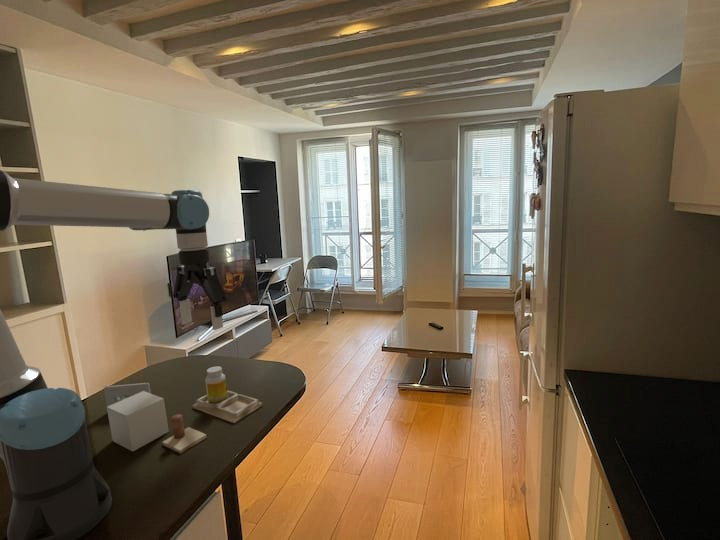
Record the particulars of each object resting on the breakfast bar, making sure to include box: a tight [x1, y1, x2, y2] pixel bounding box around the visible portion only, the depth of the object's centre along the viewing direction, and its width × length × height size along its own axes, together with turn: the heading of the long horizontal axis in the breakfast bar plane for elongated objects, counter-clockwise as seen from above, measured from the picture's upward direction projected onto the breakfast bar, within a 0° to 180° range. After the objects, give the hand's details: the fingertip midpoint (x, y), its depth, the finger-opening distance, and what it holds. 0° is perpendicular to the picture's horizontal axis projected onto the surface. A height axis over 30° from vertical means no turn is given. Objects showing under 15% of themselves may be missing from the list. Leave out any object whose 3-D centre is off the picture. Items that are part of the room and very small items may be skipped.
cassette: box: [103, 382, 152, 408], centre depth 111 cm, size 12×2×8 cm, turn 95°
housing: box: [106, 391, 170, 452], centre depth 98 cm, size 9×9×9 cm
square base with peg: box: [161, 413, 208, 454], centre depth 95 cm, size 7×7×6 cm
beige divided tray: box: [192, 389, 264, 424], centre depth 110 cm, size 10×17×2 cm, turn 58°
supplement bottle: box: [204, 365, 228, 405], centre depth 112 cm, size 5×5×10 cm
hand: (202, 325), depth 110 cm, fingers open, 13 cm apart
